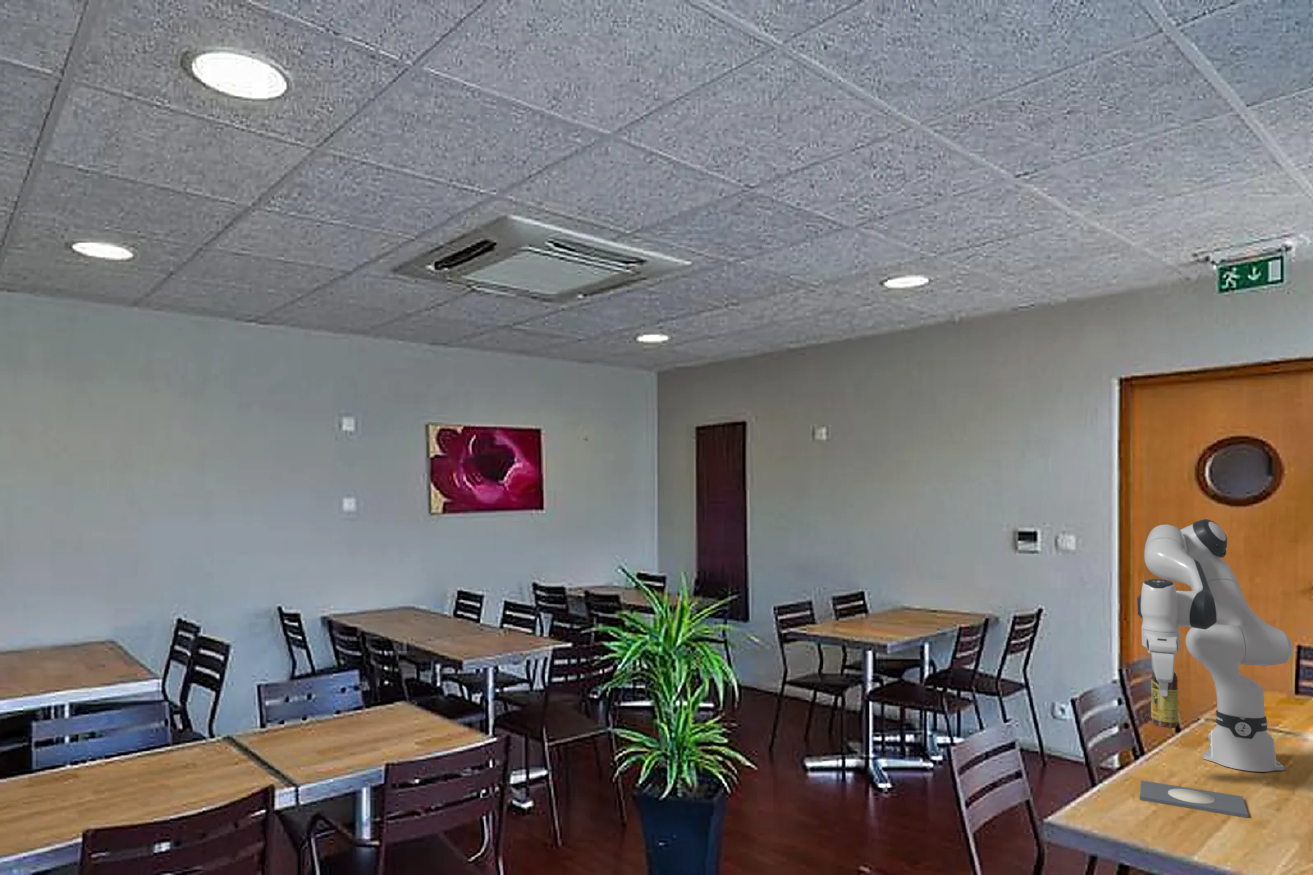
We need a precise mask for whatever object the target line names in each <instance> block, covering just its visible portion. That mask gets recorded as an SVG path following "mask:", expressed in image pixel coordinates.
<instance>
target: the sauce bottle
mask: <svg viewBox="0 0 1313 875" xmlns="http://www.w3.org/2000/svg"><path fill="white" fill-rule="evenodd" d="M1178 681H1179V680H1178V675H1177V673H1176V672H1174V675H1173V681H1172V682H1171V683H1169V682H1168V696H1161V695H1160V693H1159V681H1157V680H1156V677H1155V674H1154V672H1152V676H1151V678H1150V717H1151V719H1150V720H1151V723H1152V724H1154V725H1155V726H1157V727H1162V728H1168V729H1175V728H1177V726H1178V722H1179V685H1178Z"/></svg>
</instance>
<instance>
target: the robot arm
mask: <svg viewBox="0 0 1313 875" xmlns="http://www.w3.org/2000/svg"><path fill="white" fill-rule="evenodd" d="M1227 548H1228V537H1227V534H1226V533H1225V532H1224V529H1222V527H1221V526H1220V525H1219V524H1218V523H1216V522H1215V521H1213V520H1211V519H1207V518H1205V519H1200V520H1197V521H1195V522H1193V523H1192V524H1189V525H1187V526H1185V527H1183V528H1181V529H1180V528H1178V527H1177V526H1174V525H1171V524H1160V525H1156V526H1155V527H1154V528H1152V529H1151V530H1150V532H1149V534H1148V535H1147V538H1146V541H1145V546H1144V550H1143V554H1144V555H1143V557H1144V558H1143V559H1144V563H1145V565H1146V568H1147V569H1148V571H1150V572H1151V574H1153V575H1154V576H1156V577H1158V578H1150V579H1147V580H1144V581H1143V583H1142V585H1141V586H1142V587H1141V592H1140V594H1139V595H1138V596H1137V598H1136V600H1137V602H1136V604H1137V615H1138V616H1139V617H1140V619H1142V624H1141V627H1140V628H1141V646H1143V647H1145V648H1146V649H1147V650H1146V651H1147V653H1148V654H1151V657H1150V658H1151V669H1152V671H1153V673H1154V674H1155V677H1156V680H1157V681H1159V693H1160V695H1161V696H1168V682H1169V683H1171V682H1172V681H1173V675H1174V673H1175V663H1176V661H1175V660H1176V654H1178V651H1179V650H1180V649H1181V639H1180V638H1181V636H1180V634H1181V633H1180V627H1187V628H1189V630H1188V631H1187V633H1186V635H1185V646H1186V649H1187V651H1188V653H1189V654H1190V655H1191V656H1192V657H1193V658H1194V659H1195V660H1196V661H1198V662H1199V663H1201V664H1202V665H1203V666H1204V667H1205V669H1206V670H1207V671H1208V672H1209V674H1210V676H1211V678H1212V680H1213V683H1214V685H1215V692H1216V693H1215V695H1216V703H1217V704H1216V707H1217V709H1216V710H1215V717H1214V718H1215V724H1216V726H1215V727H1213V728H1212V730H1210V732H1208V741H1210V742H1209V748H1208V749H1207V750H1206V751H1205V752H1204V753H1203V756H1202V757H1203V759H1204V760H1207V761H1210V762H1214V763H1216V764H1218V765H1221V766H1224V767H1228V768H1231V769H1236V770H1242V771H1247V772H1257V773H1258V772H1259V773H1261V772H1264V773H1265V772H1268V773H1269V772H1272V771H1285V766H1284V765H1283V764H1282V763H1280V761H1278V760H1277V756H1276V744H1275V743H1276V742H1275V738H1273V737H1272V735H1270V734H1269V732H1268V731H1267V730H1268V719H1267V716H1266V714H1265V695H1264V694H1265V693H1264V690H1263V688H1262V686H1261V685H1260V684H1259V683H1258V682H1256V681H1255V680H1253V679H1251V678H1249V677H1248V676H1246V675H1243V674H1241V671H1240V668H1239V665H1245V666H1246V665H1247V666H1262V667H1263V666H1267V667H1268V666H1269V667H1270V666H1277V665H1282V664H1283V665H1284V664H1286V663H1287V662H1289V660H1290V659H1291V657H1292V654H1293V644H1292V641H1291V639H1290V637H1289V636H1288V634H1287V633H1285V632H1284V631H1283V630H1282V629H1279V628H1277V627H1274V626H1273V625H1271V624H1269V623H1267V622H1266V621H1264V620H1263V619H1262V618H1260V617H1259V616H1258V615H1257V614H1256V613H1255V612H1254V611H1253V610H1252V609H1251V608H1250V606H1249V605H1248V604H1249V603H1248V602H1247V601H1246V598H1245V596H1244V594H1243V592H1242V588H1241V586H1240V584H1239V581H1238V579H1237V577H1236V575H1235V574H1234V572H1233V570H1232V569H1231V567H1230V566H1229V564H1228V563H1227V562H1226V561H1225V560H1223V559H1222V558H1225V556H1226V555H1227ZM1174 582H1177V583H1181V584H1183V585H1184V584H1185V585H1187V586H1188V587H1190V588H1191V590H1189V591H1188V590H1177V589H1176V584H1175V583H1174Z"/></svg>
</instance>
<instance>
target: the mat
mask: <svg viewBox="0 0 1313 875" xmlns="http://www.w3.org/2000/svg"><path fill="white" fill-rule="evenodd" d="M1139 792H1140V793H1139V800H1140V801H1146V802H1153V803H1156V804H1157V803H1158V804H1164V805H1170V806H1175V807H1181V808H1186V809H1193V810H1198V811H1206V812H1211V813H1216V814H1223V815H1228V816H1234V817H1240V818H1246V819H1247V818H1249V814H1248V810H1247V807H1246V803H1245V801H1244V797H1243V796H1241V795H1235V794H1230V793H1224V792H1218V791H1212V790H1211V791H1210V790H1203V789H1199V788H1192V787H1186V786H1185V787H1184V786H1179V785H1173V784H1166V783H1161V782H1154V781H1153V782H1152V781H1147V780H1142V779H1141V780H1140V790H1139Z"/></svg>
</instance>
